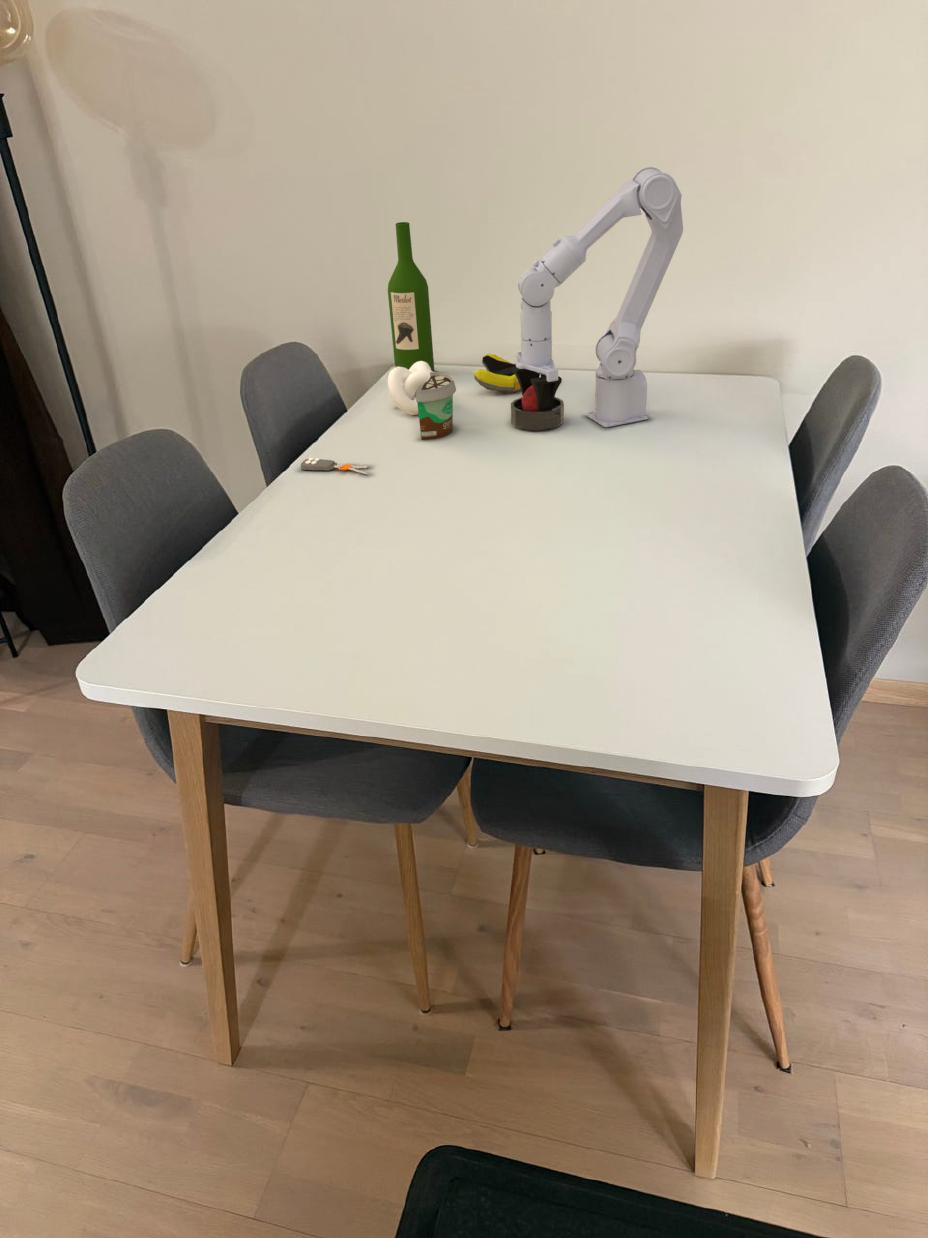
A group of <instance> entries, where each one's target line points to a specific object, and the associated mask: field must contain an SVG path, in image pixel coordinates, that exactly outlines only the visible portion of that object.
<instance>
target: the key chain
mask: <svg viewBox="0 0 928 1238" xmlns="http://www.w3.org/2000/svg"><path fill="white" fill-rule="evenodd" d="M300 468H301V470H305V471H332V470H334V469H338V470H341V471H348V470H350V471H354V472H356V473H359V474H364V475H368V472H366V471H363V470H359V469H367V468H369V466H368V465H353V464H350V463H346V464H340V465H339V464H338V462H335V460H332V459H321V458H320V457H315V458H314V457H308V458H306V459H304V460H303V461H302V462H301V463H300Z"/></svg>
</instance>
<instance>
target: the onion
mask: <svg viewBox="0 0 928 1238" xmlns="http://www.w3.org/2000/svg"><path fill="white" fill-rule="evenodd" d="M521 397H522V407H523V410H524V411H530V412H539V411H538V405H537V397H536V393H535V389H534V387H533V385H532V386H530V387H529V388H528V389H527V390H526V391H525V393H524V394H523V396H521Z"/></svg>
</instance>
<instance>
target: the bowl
mask: <svg viewBox="0 0 928 1238" xmlns="http://www.w3.org/2000/svg"><path fill="white" fill-rule="evenodd" d="M522 397H523V396H521V397H519V398H516V399H514V400H512V402H511V403H510V423H511V425H513V426H514V427H516V428H518V429H521V430H523V431H527V432H542V431H544V432H545V431H549V430H552V429H554V428H557V427H558V426H561V425H562V424H563V423H564V421H565V402H564V399H561V398H559V397H556V396H555V397H554V400H553V404H552V409H551V410H547V411H540V412H530V411H524V410H523V407H522Z"/></svg>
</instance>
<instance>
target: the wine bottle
mask: <svg viewBox="0 0 928 1238" xmlns="http://www.w3.org/2000/svg"><path fill="white" fill-rule="evenodd" d="M394 225H395V235H396V248H397V250H396V251H397V264H396V265H395V268H394V270H393V272H392V274H391V276H390V279H389V280H388V284H387V297H388V298H387V299H388V308H389V319H390V327H391V328H390V329H391V339H392V349H393V360H394V368H396V367H404V368H406V369H408V370H409V369H410V368H411V366H412V365H413V364H414V363H416V362H419V361H424V362H427V363H428V365H429V366H430V368H431V371H433V372H435V361H434V359H435V358H434V347H433V333H432V320H431V319H432V318H431V307H430V293H429V285H428V281H427V279H426V277H425V276H424V275H423V273H422V271H421V270H420V269H419V267H418V266H417V264H416V262H415V261H414V257H413V248H412V237H411V227H410V226H411V225H410V222H408V221H400V222H396V223H395V224H394Z"/></svg>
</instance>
